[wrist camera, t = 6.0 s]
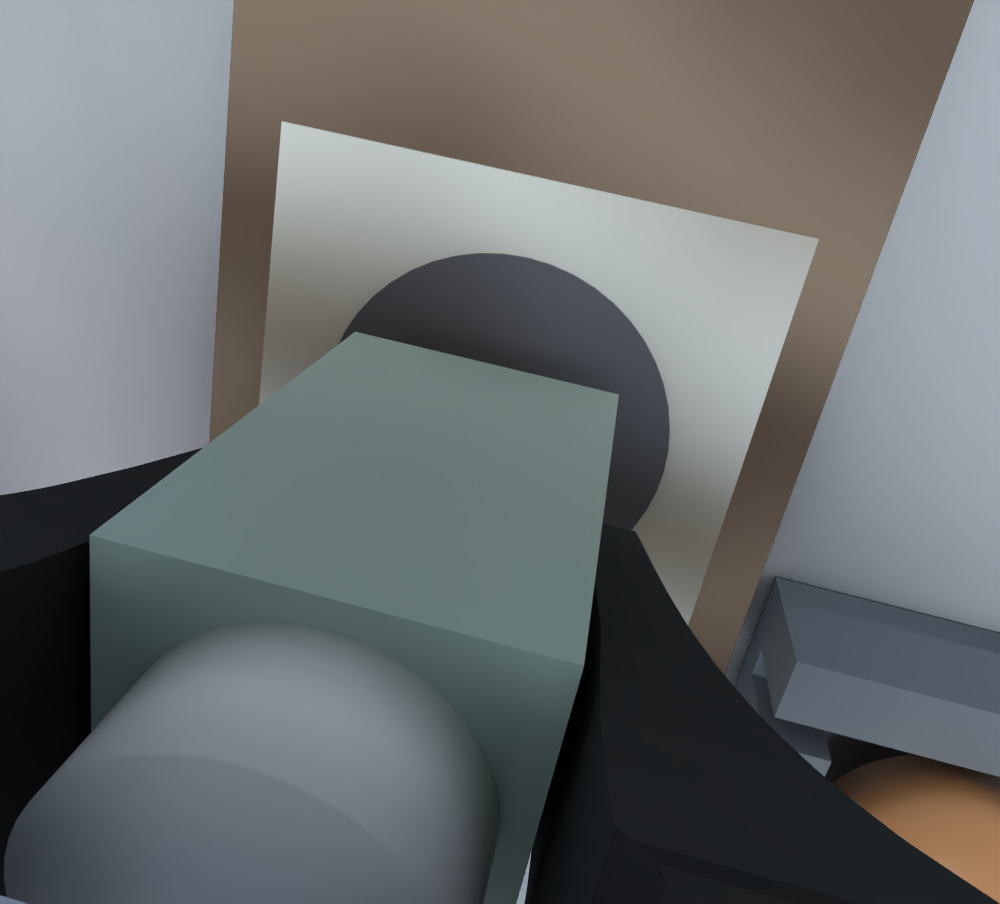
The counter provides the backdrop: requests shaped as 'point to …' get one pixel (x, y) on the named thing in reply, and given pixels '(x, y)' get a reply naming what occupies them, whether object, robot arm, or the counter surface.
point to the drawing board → (585, 223)
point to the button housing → (872, 682)
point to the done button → (936, 812)
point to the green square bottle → (336, 646)
